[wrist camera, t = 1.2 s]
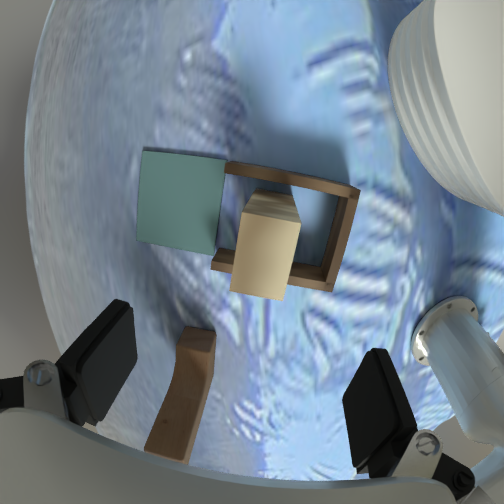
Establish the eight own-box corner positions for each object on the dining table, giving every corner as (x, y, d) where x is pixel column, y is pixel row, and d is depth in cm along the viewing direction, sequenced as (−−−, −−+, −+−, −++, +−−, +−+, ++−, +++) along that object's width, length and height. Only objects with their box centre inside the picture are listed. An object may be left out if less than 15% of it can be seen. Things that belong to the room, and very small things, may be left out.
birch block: (292, 195, 30) (301, 223, 18) (281, 246, 32) (282, 301, 21) (255, 188, 30) (241, 212, 18) (246, 240, 32) (229, 291, 21)
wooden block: (185, 324, 37) (134, 428, 20) (217, 330, 37) (180, 442, 20) (185, 369, 40) (148, 464, 23) (213, 375, 40) (185, 475, 23)
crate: (350, 185, 28) (360, 190, 25) (326, 276, 32) (331, 292, 29) (232, 161, 29) (225, 162, 25) (218, 255, 33) (210, 269, 29)
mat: (227, 160, 29) (226, 160, 28) (214, 254, 33) (213, 255, 32) (144, 150, 29) (142, 150, 29) (137, 239, 33) (136, 240, 33)
